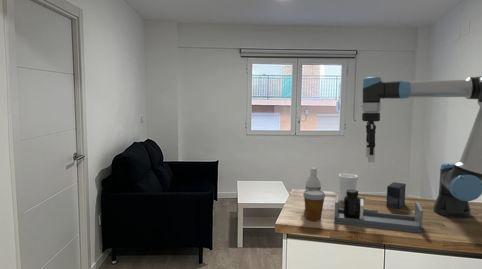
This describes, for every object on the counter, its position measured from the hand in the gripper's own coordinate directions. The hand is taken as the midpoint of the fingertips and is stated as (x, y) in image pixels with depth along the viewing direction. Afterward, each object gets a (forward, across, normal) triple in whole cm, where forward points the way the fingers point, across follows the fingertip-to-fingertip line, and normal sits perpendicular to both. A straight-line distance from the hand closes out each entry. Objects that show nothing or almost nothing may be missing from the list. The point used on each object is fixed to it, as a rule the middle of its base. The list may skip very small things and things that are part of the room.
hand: (370, 159), depth 168 cm
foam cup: (+25, -19, -10) cm, 33 cm away
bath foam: (+25, +1, -25) cm, 36 cm away
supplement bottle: (+24, +10, -8) cm, 28 cm away
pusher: (+24, +10, -1) cm, 26 cm away
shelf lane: (+25, +10, +2) cm, 27 cm away
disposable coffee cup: (+25, +14, -24) cm, 37 cm away
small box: (+26, -17, +13) cm, 34 cm away
